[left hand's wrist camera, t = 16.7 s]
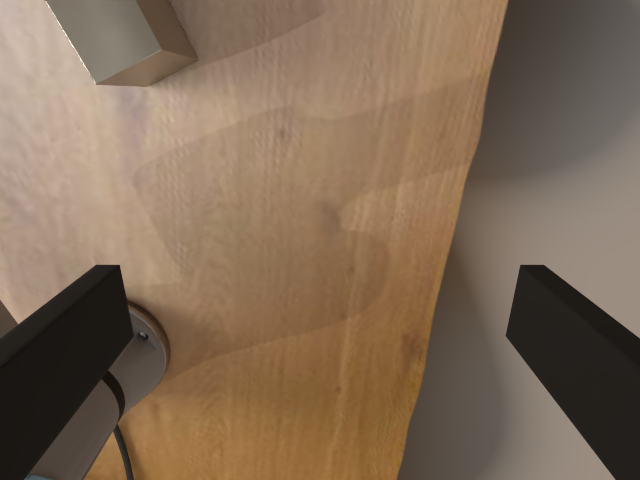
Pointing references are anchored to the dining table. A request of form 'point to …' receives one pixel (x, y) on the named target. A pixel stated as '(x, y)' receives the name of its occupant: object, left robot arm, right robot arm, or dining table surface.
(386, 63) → the dining table surface
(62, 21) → the box
